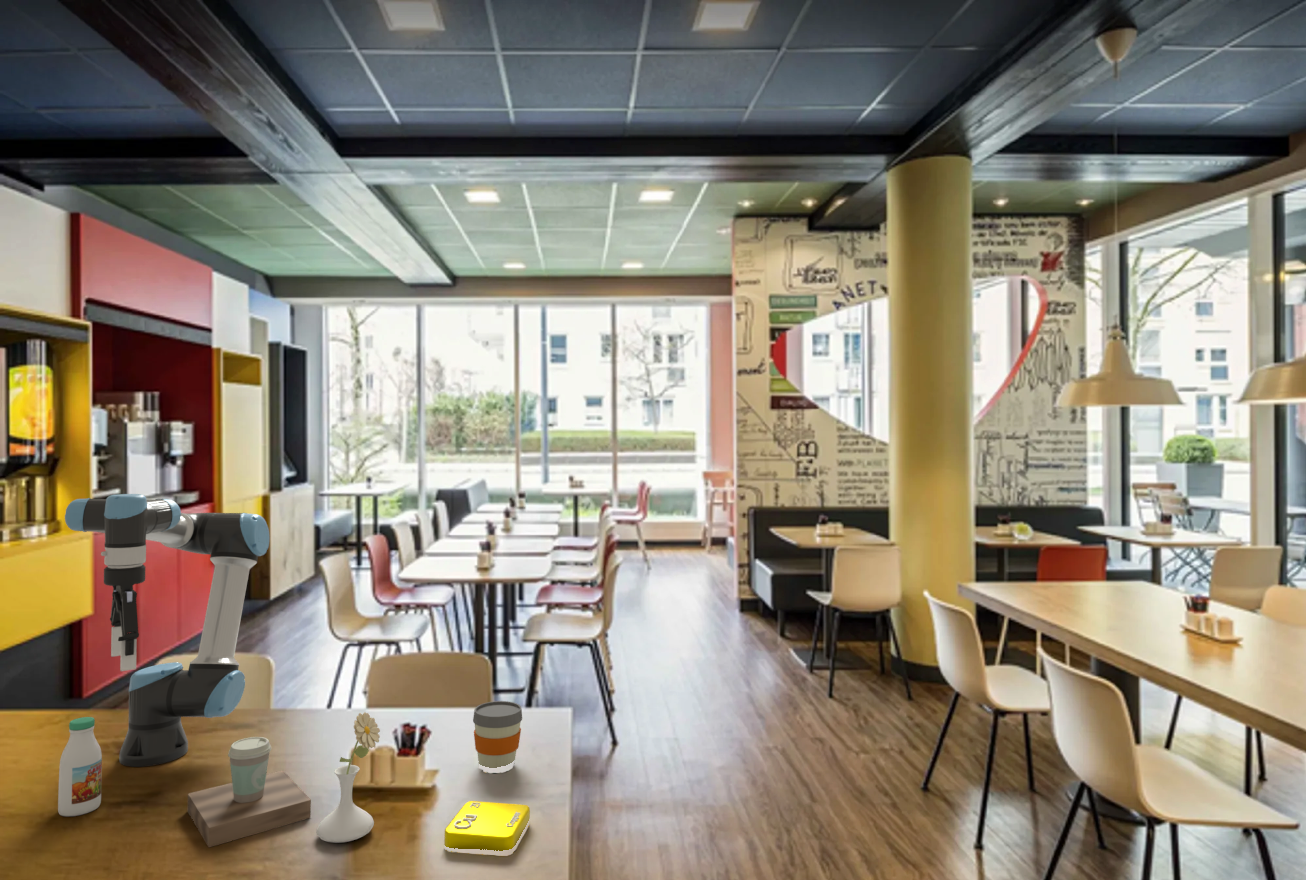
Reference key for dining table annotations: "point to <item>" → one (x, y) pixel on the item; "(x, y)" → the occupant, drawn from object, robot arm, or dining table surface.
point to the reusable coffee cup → (497, 732)
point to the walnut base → (247, 809)
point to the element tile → (487, 826)
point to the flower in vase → (347, 816)
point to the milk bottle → (80, 770)
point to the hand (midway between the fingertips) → (123, 662)
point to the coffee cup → (249, 768)
